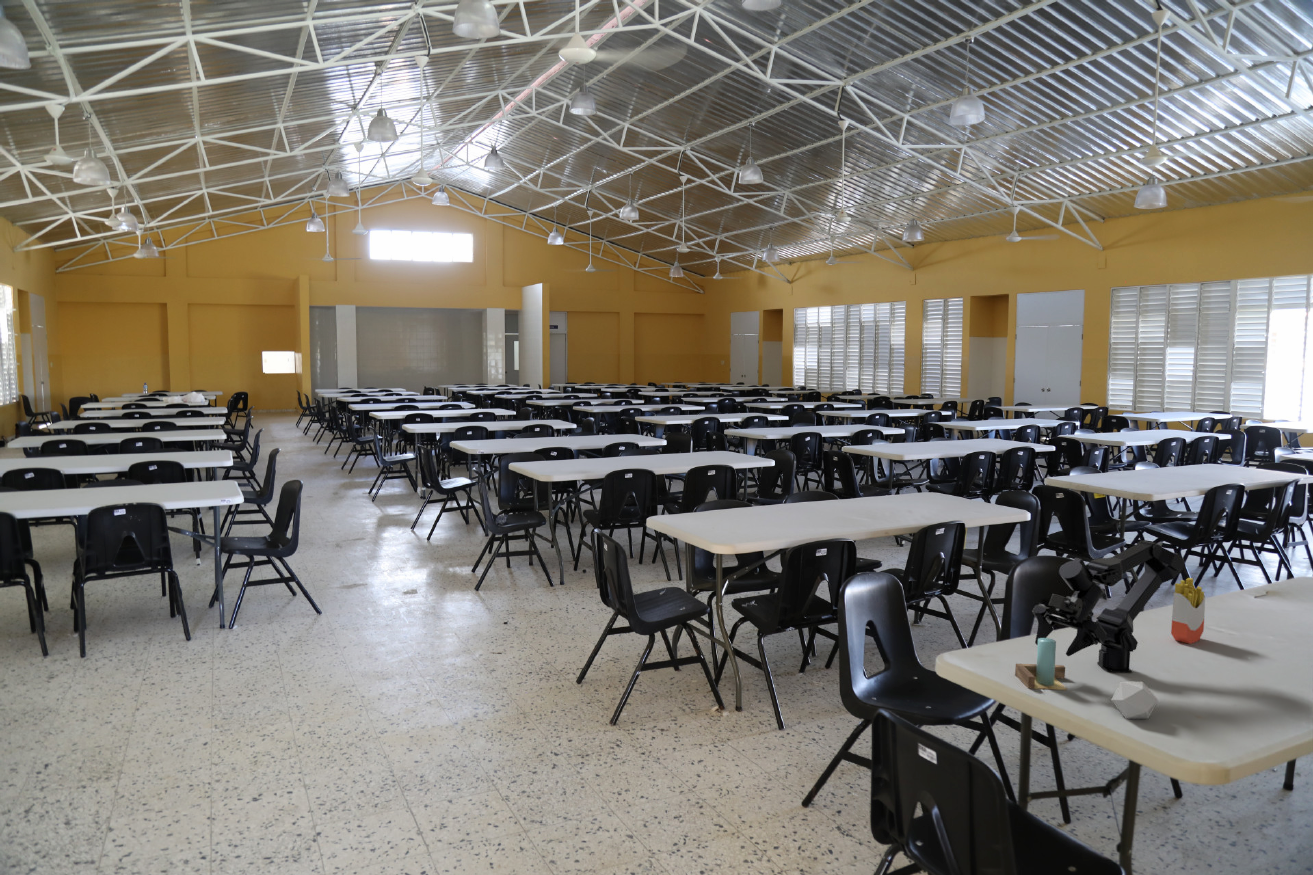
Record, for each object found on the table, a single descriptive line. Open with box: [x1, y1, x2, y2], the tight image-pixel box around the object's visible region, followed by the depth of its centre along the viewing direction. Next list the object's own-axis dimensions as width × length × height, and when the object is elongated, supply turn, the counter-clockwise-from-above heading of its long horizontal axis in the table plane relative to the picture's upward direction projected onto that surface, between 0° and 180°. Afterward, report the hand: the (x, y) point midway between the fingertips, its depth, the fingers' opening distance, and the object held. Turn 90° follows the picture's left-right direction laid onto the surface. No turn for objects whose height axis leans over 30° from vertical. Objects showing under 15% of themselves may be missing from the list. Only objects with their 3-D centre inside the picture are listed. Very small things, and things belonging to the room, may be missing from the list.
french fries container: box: [1170, 577, 1206, 645], centre depth 253 cm, size 5×11×18 cm, turn 124°
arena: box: [1014, 663, 1068, 691], centre depth 219 cm, size 12×10×3 cm
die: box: [1110, 681, 1159, 720], centre depth 198 cm, size 8×9×10 cm
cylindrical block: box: [1036, 637, 1057, 686], centre depth 218 cm, size 4×4×11 cm
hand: (1051, 649), depth 218 cm, fingers open, 9 cm apart
